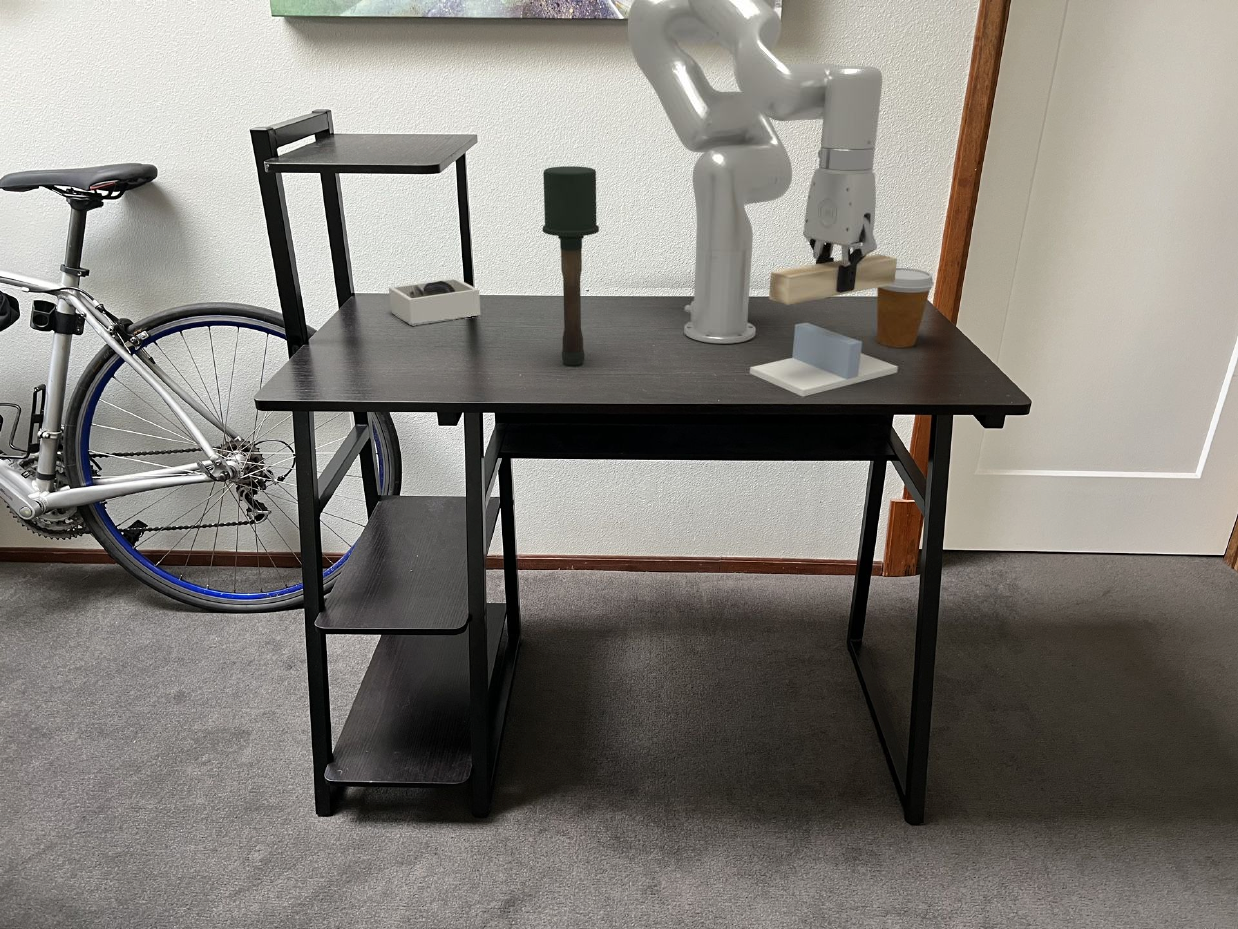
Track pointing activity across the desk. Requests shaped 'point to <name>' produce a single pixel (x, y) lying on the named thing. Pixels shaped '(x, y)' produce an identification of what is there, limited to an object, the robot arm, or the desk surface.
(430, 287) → the eagle figurine
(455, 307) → the beige open storage bin
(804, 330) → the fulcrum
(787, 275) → the rod
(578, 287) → the potato masher grenade
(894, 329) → the disposable coffee cup
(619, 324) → the desk surface
